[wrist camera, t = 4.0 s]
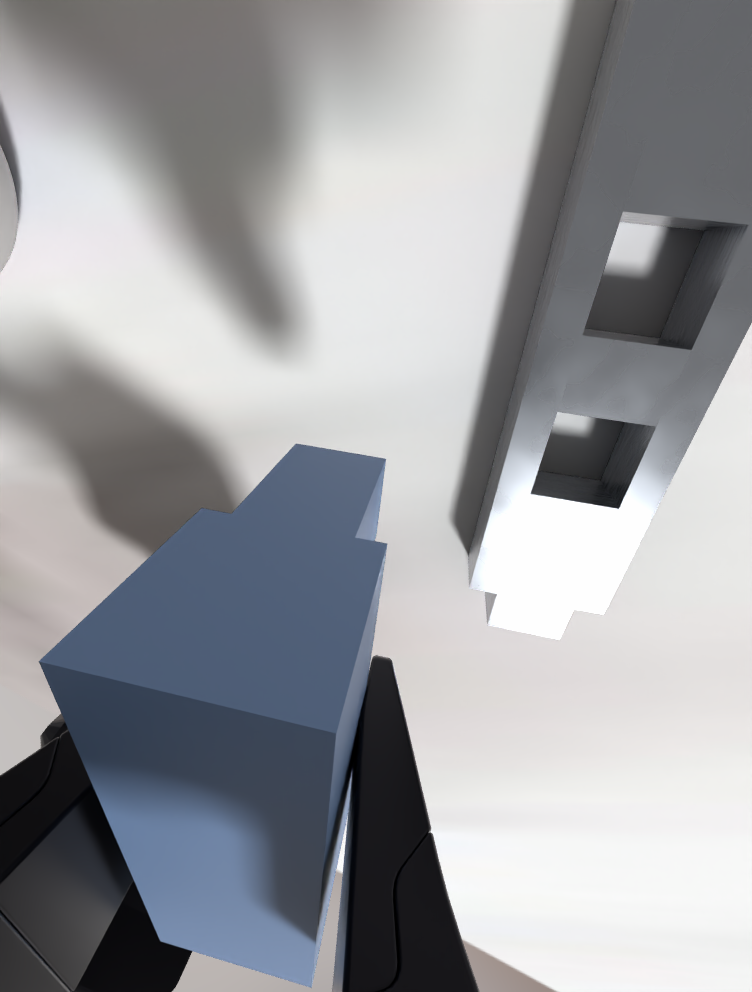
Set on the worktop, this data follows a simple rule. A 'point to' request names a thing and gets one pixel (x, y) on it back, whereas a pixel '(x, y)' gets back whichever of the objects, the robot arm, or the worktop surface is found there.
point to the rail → (617, 356)
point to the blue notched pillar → (236, 709)
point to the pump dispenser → (7, 212)
